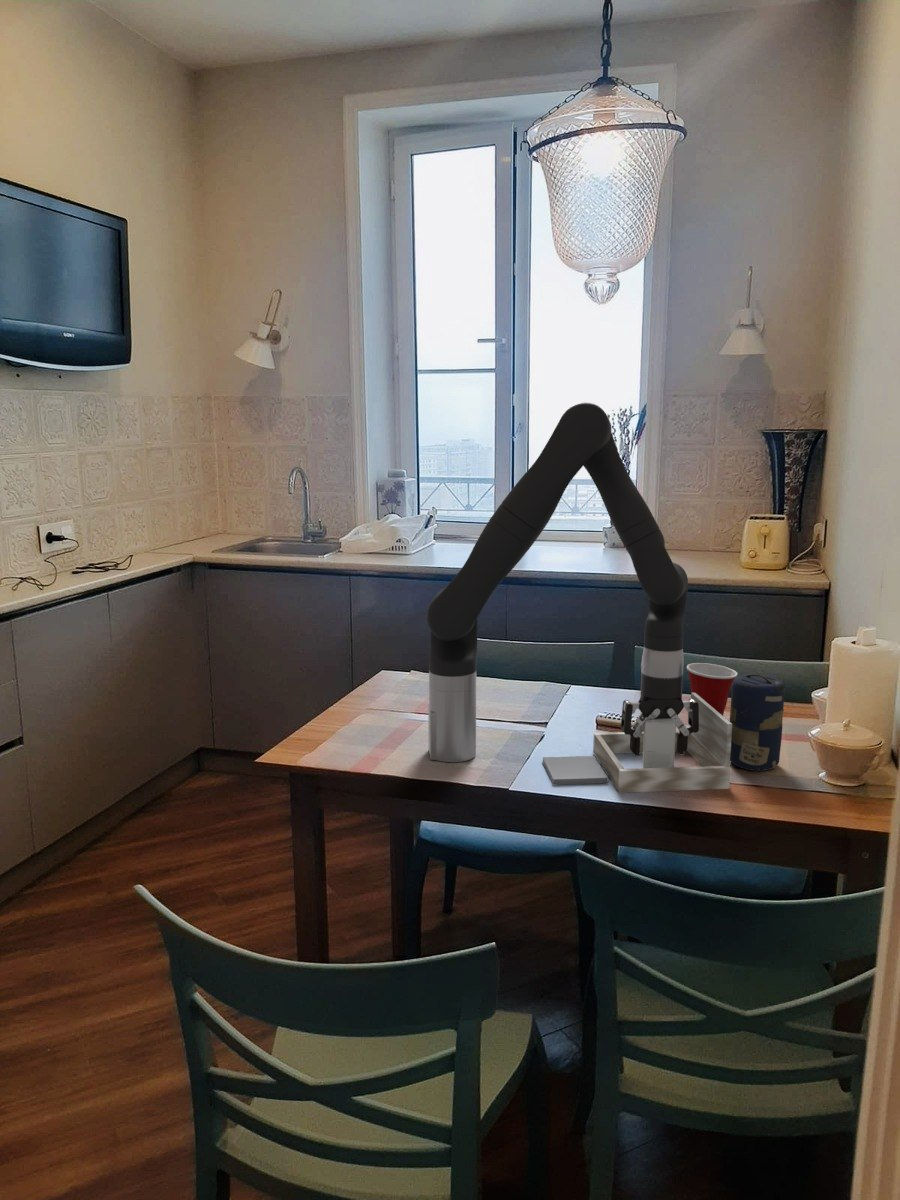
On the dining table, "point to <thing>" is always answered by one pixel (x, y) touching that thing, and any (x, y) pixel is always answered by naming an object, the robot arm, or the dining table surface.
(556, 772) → the slate tile
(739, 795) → the dining table surface
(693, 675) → the plastic cup
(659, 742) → the small box
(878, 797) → the dining table surface
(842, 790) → the dining table surface
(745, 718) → the canister
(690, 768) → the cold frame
